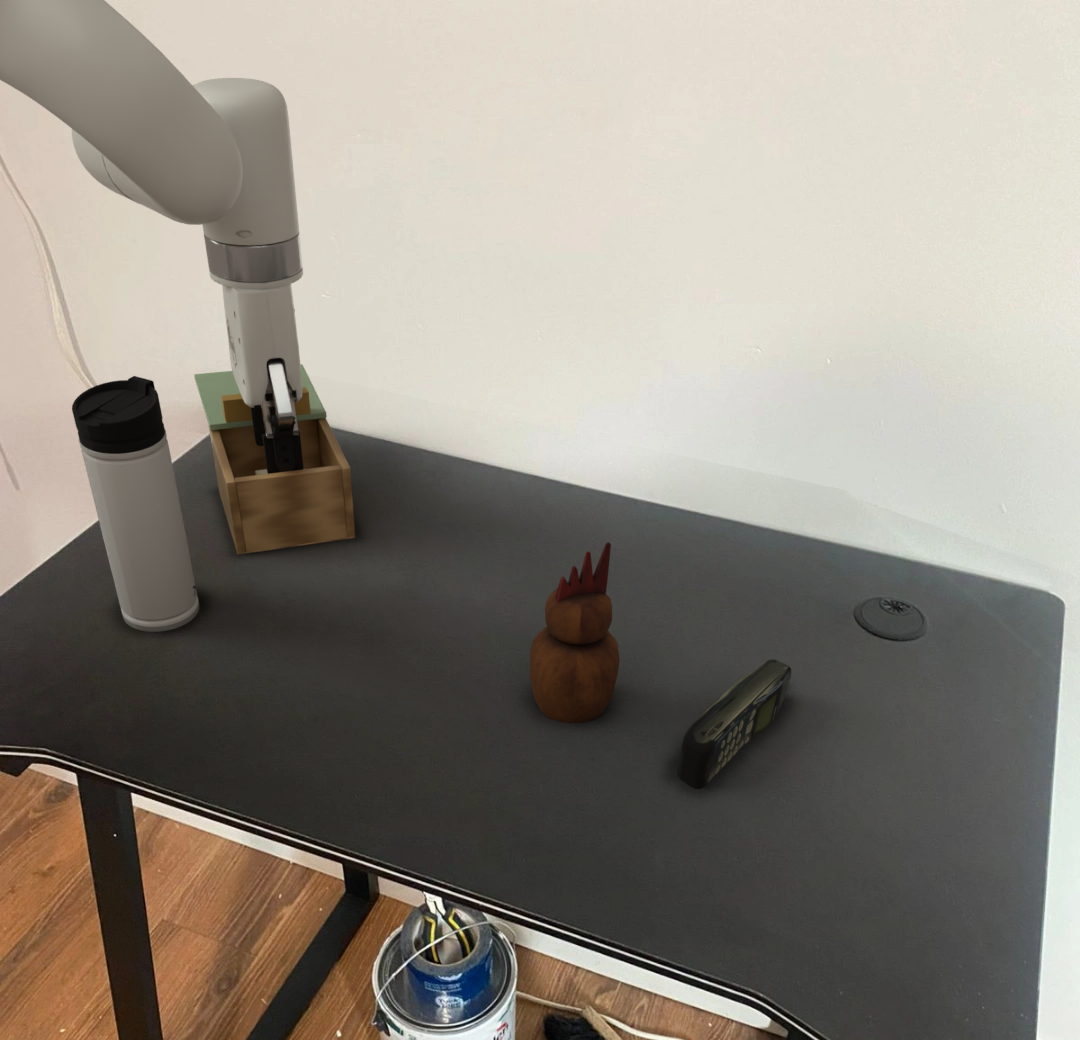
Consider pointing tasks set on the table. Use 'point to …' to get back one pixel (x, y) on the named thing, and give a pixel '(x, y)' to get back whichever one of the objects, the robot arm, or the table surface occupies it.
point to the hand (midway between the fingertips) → (279, 456)
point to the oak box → (284, 490)
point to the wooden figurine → (576, 647)
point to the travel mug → (137, 502)
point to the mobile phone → (732, 722)
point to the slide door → (231, 409)
